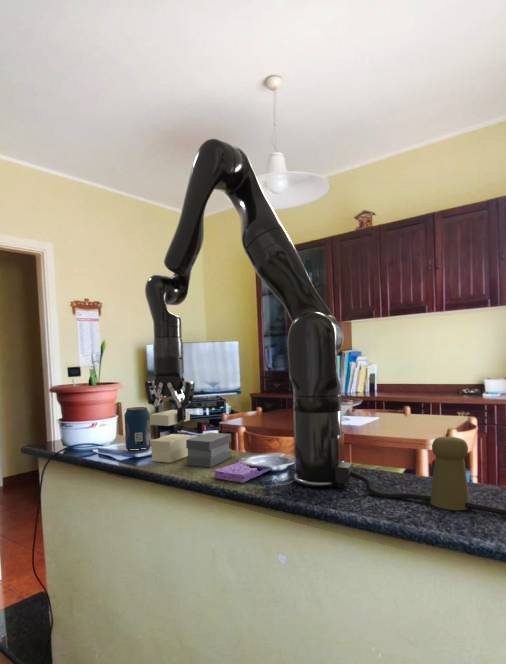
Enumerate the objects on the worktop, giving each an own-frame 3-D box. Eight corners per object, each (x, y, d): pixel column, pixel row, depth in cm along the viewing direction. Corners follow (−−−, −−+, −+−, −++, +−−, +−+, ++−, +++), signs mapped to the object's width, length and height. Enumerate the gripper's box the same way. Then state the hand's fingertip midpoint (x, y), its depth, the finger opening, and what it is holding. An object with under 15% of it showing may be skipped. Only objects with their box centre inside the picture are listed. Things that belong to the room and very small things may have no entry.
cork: (455, 512, 66) (455, 442, 66) (421, 501, 72) (421, 436, 71) (479, 505, 69) (479, 438, 68) (444, 495, 74) (444, 432, 74)
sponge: (214, 478, 89) (214, 470, 89) (246, 465, 100) (246, 457, 99) (242, 483, 85) (242, 474, 85) (273, 469, 95) (272, 461, 95)
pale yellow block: (189, 420, 113) (189, 410, 113) (168, 426, 104) (168, 415, 104) (172, 419, 115) (171, 409, 115) (149, 424, 107) (149, 414, 106)
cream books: (191, 454, 113) (191, 434, 113) (170, 463, 104) (169, 441, 104) (173, 452, 116) (172, 433, 116) (150, 461, 107) (149, 440, 107)
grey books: (232, 457, 109) (231, 433, 108) (211, 467, 99) (210, 441, 98) (208, 455, 112) (207, 432, 112) (185, 465, 102) (184, 440, 102)
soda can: (125, 449, 123) (123, 407, 122) (150, 447, 124) (148, 406, 124) (126, 454, 116) (124, 410, 115) (152, 452, 118) (150, 408, 117)
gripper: (136, 356, 109) (139, 422, 110) (184, 355, 102) (186, 425, 103) (154, 356, 115) (156, 418, 116) (200, 354, 109) (202, 420, 110)
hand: (170, 421), depth 110 cm, fingers closed on pale yellow block, 5 cm apart
